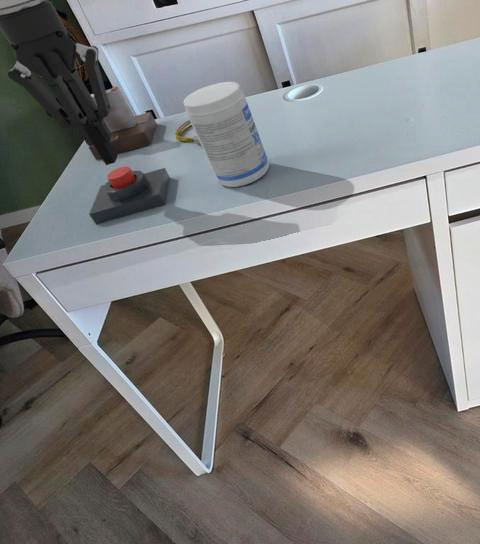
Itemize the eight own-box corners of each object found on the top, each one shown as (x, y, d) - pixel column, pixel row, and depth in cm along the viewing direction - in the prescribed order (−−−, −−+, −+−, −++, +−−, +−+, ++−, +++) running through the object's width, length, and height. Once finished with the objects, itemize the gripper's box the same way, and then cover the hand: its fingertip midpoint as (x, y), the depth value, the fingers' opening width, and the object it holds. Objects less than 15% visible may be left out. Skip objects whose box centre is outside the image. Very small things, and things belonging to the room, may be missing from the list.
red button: (111, 191, 83) (104, 181, 81) (115, 180, 86) (109, 170, 84) (134, 185, 83) (128, 174, 81) (137, 174, 86) (131, 164, 84)
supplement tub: (279, 171, 84) (250, 87, 75) (230, 195, 81) (194, 111, 71) (256, 155, 91) (226, 76, 81) (210, 177, 88) (173, 98, 78)
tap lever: (104, 134, 106) (83, 98, 101) (106, 130, 108) (85, 94, 103) (135, 126, 106) (116, 89, 101) (137, 122, 108) (117, 85, 103)
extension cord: (173, 157, 98) (169, 148, 96) (179, 126, 110) (175, 118, 108) (232, 140, 98) (228, 131, 97) (232, 112, 110) (229, 103, 109)
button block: (96, 224, 82) (82, 205, 80) (107, 195, 90) (95, 177, 87) (165, 205, 83) (154, 185, 80) (170, 178, 91) (160, 158, 88)
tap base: (96, 160, 104) (87, 146, 102) (106, 137, 113) (99, 125, 111) (150, 144, 105) (143, 131, 103) (156, 123, 114) (150, 110, 112)
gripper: (-39, 25, 63) (68, 181, 78) (60, -2, 64) (147, 159, 79) (-17, 13, 69) (78, 161, 84) (74, -11, 69) (152, 140, 84)
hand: (111, 160), depth 81 cm, fingers closed
